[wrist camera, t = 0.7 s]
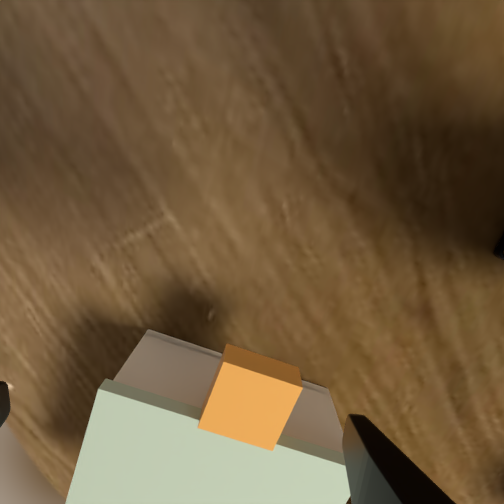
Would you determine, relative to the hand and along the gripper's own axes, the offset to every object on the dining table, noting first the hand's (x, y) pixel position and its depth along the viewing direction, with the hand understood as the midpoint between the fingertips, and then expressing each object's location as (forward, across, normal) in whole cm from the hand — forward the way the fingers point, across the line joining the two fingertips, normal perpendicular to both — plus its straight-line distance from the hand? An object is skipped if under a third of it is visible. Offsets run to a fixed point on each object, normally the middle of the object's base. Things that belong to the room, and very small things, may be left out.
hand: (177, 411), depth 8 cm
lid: (+8, -1, +10) cm, 13 cm away
